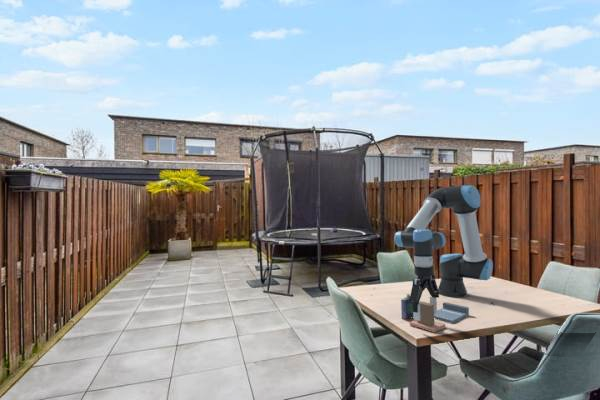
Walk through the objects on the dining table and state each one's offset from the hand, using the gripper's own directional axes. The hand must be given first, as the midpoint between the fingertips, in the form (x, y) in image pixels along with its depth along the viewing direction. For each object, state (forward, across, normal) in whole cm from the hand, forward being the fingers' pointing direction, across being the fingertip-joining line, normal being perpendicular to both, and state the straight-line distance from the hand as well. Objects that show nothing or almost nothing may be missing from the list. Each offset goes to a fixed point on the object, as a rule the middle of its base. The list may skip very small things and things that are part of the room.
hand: (425, 316), depth 128 cm
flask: (+5, +6, +11) cm, 14 cm away
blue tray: (+5, +20, 0) cm, 21 cm away
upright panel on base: (+5, +1, 0) cm, 5 cm away
